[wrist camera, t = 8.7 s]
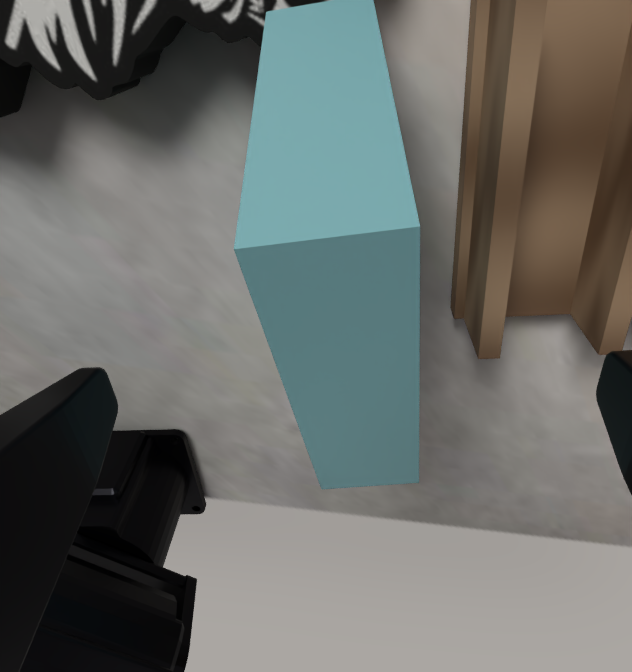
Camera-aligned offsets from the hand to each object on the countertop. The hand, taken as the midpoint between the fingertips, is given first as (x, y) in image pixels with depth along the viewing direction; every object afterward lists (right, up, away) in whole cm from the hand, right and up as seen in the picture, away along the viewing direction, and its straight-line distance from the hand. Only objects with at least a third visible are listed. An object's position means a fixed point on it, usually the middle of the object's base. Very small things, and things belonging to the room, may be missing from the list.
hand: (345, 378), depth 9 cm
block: (0, +7, +9) cm, 11 cm away
